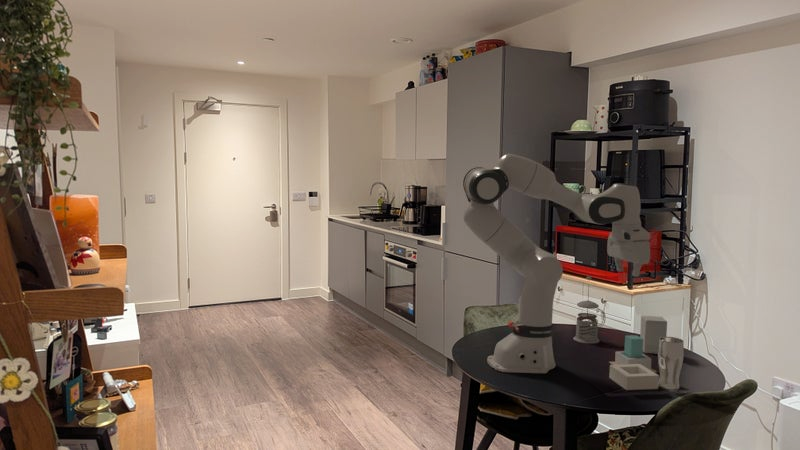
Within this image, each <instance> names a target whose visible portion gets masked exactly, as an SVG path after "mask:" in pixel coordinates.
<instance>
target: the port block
mask: <svg viewBox="0 0 800 450" xmlns="http://www.w3.org/2000/svg"><path fill="white" fill-rule="evenodd" d="M659 376H660V374H657V372H652V371H651V370H649V369H647V368H646V367H644V366H642V365H641V364H625V365H612V364H610V365H609V376H608V378H609V379H610V380H611V381H612V382H614V383H615V384H616V385H618V386H620V387H621V388H622V389H623V390H625V394H638V393H643V394H644V393H658V392H659V391H658V390H659V385H658V383H659Z"/></svg>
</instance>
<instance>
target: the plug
mask: <svg viewBox="0 0 800 450" xmlns="http://www.w3.org/2000/svg"><path fill="white" fill-rule="evenodd" d="M623 351H624V355H625V356H627V357H628V358H642V354H644V352H643V338H641V337H640V335H639V336H638V335H637V334H635V335H625V336H624V350H623Z"/></svg>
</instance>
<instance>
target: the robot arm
mask: <svg viewBox="0 0 800 450" xmlns="http://www.w3.org/2000/svg"><path fill="white" fill-rule="evenodd" d="M462 184H463V185H462V186H463V190H464V193H465V196H466V199H467V201H468V202H469V205H467V207H466V209H465V211H464V213H463V221H464V223H465V224H466V226H467V227H468V228H469V229H470V231H472V233H473V234H474V235H475V236H476V237H477V238H478V239H479V240H481V241H482V242H483V243H484V244H485V245H486V246H487V247H489V248H490V249H491V250H492V251H493V252H495V253H496V254H497V255H498V256H499V257H500V258H501V259H502V260H503V261H505V262H506V263H507V264H508V265H509V266H510V267H511V268H512V269H514V271H516V272H517V273H518V274H519V275H520V276H521V277H523V278H524V280H523V287H522V289H521V290H522V291H521V294H520V296H519V299H518V315H517V316H518V317H517V318H518V319H517V321H516V322H513V321H512V320H510V321H508V322H507V326H508V327H509V328H510V329H512V330H511V331H512V332H510V334H508V335H506V336H505V337H504V338H502V339H501V340H499V341H498V342H497V343H496V345H495V346H494V347H495V348H494V351H493V352H494V353H493V354H492V355H489V356H487V360H486V362H487V364H488V365H489V366H490V367H491V368H492V369H493V368H494V370H495V371H497V370H498V372H500V371H501V372H500V373H521V374H525V373H526V374H528V373H529V374H547V373H548V372H549V371H550V370H553V369H554V368H555V367H556V365H557V364H556V362H555V358H554V351H553V340H554V338H553V337H554V323H553V313H554V311H553V309H554V308H553V307H554V299H555V295H556V291H557V285H558V283H559V281H561V279H562V276H563V273H564V271H563V265H562V263H561V262H560V260H559V259H558V258H557V257H556V256H555V255H554V254H553V253H551V252H548V251H546V250H544V249H542V248H540V247H539V246H538V245H537V244H536V243H534V241H532V240H531V239H530V238H529V237H528V235H527V234H525V232H524V231H523V230H522V229H521V228H520V227H518V226H517V225H516V224H515V223H514V222H513V221H511V220H510V219H509V217H507V216H505V214H503V213H502V212H501V211H500V209H498V208H497V207H496V205H495V204H494V203H496V201H498V200H499V199H500V198H501V197H502V195H503V194H505V192H506V191H507V190H508V189H511V190H513V191H515V192H517V193H519V194H522V195H525V196H528V197H530V198H534V199H538V200H549V201H551V202H554V203H555V204H558V205H560V206H562V207H564V208H566V209H568V210H569V211H571V212H572V213H573V215H574V216H575V217H576V218H577V219H578V220H580V221H581V222H584V223H589V224H590V223H591V224H596V225H599V226H600V225H603V226H604V225H607V224H612V225H611V226H612V227H611V231H610V233H609V235H608V238H607V245H606V253H607V255H608V256H609V257H612V258H613V260H614V261H613V262H614V263H615V266H616V271H617V272H624V268H625V267H624V265H623V263H622V261H625V262H629V263H632V265H633V270H631V275H632V276H633V277H635V278H636V277H640V274H641V273H640V270H641V269H642V266H643V265H648V264H649V263H650V262H651V245H650V244H651V243H650V242H649V240H651V234H650V232H649V231H647V230H646V229H645V228H643V226H642V221H641V217H640V214H641V208H642V207H641V206H642V205H641V195H640V191H639V188H638V187H637V186H636V185H635V184H631V183H624V182H623V183H622V182H616V183H613V184H612V185H611V186H610V187H609V188H608V189H606V190H604V191H602V192H601V193H598V194H595V193H591V192H577V191H575V190H574V189H571V188H570V187H567V186H565V185H563V184H560V182H558V181H557V179H556V175H555V173H554V171H552V170H551V169H550V168H548V167H546V166H545V165H543V164H541V163H540V162H537V161H535V160H533V159H530V158H528V157H526V156H521V155H518V154H513V153H506V154H504V155H502V156H501V157H500V158H499V159H498V161H497V162H496V165H495V166H493V168H487V167H483V166H477V167H473V168H471V169H469V170H468V172H466V174H465V176H464V177H463V182H462Z"/></svg>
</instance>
